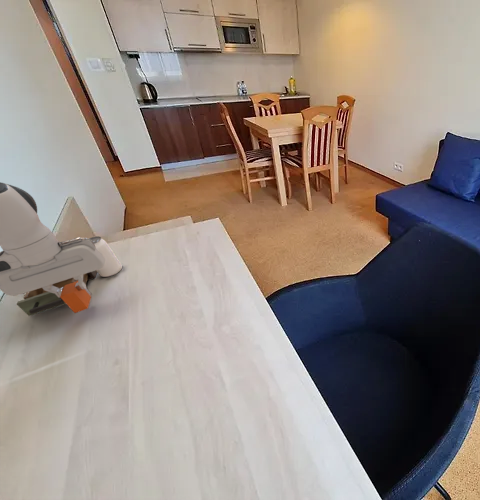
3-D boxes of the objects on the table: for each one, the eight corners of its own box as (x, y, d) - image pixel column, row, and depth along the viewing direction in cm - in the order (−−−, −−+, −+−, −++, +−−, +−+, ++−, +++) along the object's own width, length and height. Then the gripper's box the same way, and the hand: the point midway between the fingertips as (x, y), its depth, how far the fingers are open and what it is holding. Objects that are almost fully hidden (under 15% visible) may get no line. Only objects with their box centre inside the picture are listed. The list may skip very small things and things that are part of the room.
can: (104, 268, 102) (82, 239, 95) (125, 263, 103) (105, 233, 96) (98, 280, 97) (74, 249, 90) (120, 274, 98) (99, 243, 91)
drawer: (82, 305, 85) (71, 293, 83) (23, 326, 81) (10, 313, 78) (93, 271, 99) (84, 259, 97) (43, 286, 95) (33, 275, 92)
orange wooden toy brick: (74, 313, 79) (59, 296, 76) (79, 297, 84) (66, 281, 81) (88, 308, 80) (73, 292, 77) (92, 293, 85) (79, 277, 82)
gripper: (89, 229, 77) (119, 271, 85) (-13, 257, 70) (29, 300, 78) (84, 240, 72) (116, 283, 80) (-26, 272, 66) (21, 315, 74)
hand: (73, 292), depth 79 cm, fingers closed on orange wooden toy brick, 3 cm apart
